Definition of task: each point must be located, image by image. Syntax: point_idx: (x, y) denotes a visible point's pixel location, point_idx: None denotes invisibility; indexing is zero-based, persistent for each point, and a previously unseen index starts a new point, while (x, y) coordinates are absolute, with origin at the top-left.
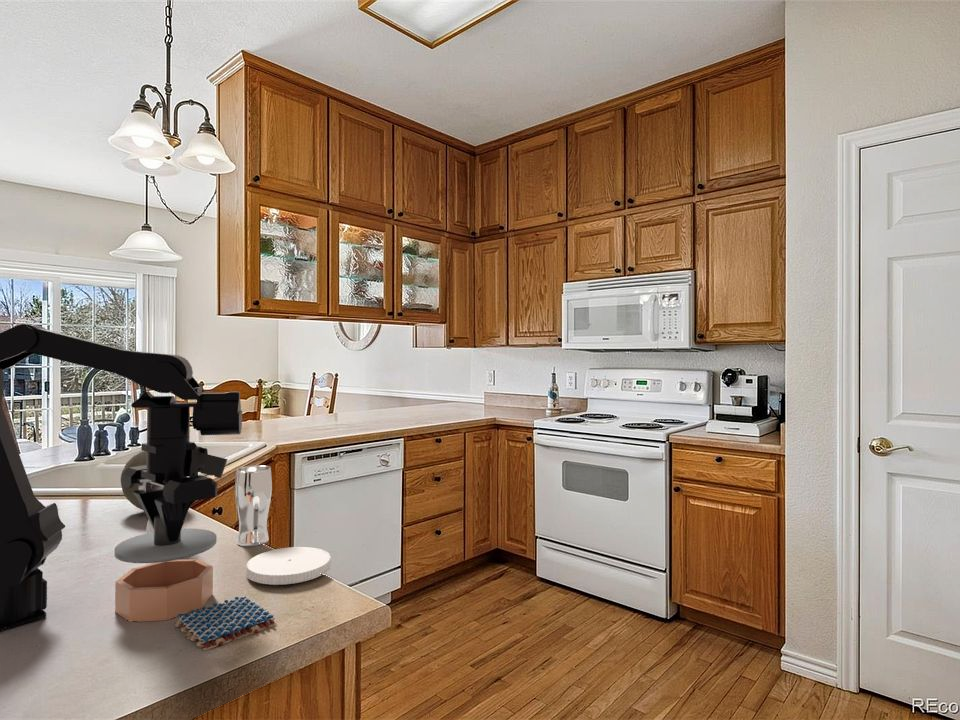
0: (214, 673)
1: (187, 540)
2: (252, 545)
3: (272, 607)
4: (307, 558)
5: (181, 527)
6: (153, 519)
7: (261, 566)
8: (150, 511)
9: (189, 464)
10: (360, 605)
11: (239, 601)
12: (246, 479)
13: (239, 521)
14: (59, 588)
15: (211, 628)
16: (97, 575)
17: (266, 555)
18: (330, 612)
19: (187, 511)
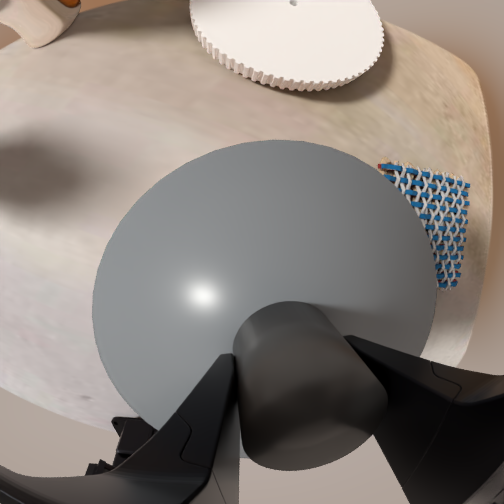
0: (479, 290)
1: (331, 282)
2: (71, 22)
3: (417, 140)
4: None
5: (394, 351)
6: (238, 452)
7: (286, 51)
8: (237, 494)
9: None
10: (466, 74)
11: (401, 182)
12: None
13: (15, 24)
14: (56, 374)
15: (443, 267)
16: (24, 317)
17: (216, 12)
18: (466, 108)
19: (471, 372)
